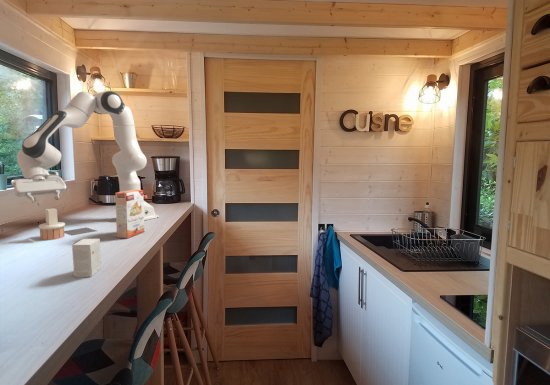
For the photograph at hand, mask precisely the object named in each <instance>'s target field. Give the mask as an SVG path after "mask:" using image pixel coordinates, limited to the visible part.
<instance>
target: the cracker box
mask: <svg viewBox="0 0 550 385" xmlns="http://www.w3.org/2000/svg"><path fill="white" fill-rule="evenodd" d="M144 195H145V194H144V189H141V190H129V191H123V192H120V191H118V192H115V215H116V216H115V218H116V219H115V220H116V221H115V222H116V238H118V239H119V238H120V239H129V238H131V237H134V236H136V235H139V234H143V233H144V232H145V220H144V201H145V200H144V199H145V198H144Z"/></svg>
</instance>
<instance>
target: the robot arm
mask: <svg viewBox="0 0 550 385" xmlns="http://www.w3.org/2000/svg"><path fill="white" fill-rule="evenodd" d="M93 113H94V114H95V113H96V114H98V115H109V116H110V118H111V121H112V128H113V129H112V130H113V135H114V139H115V140H114V141H115V142H116V144H117V145H118V147H119V149H120V151H118V152H116V153H114V154H113V155H112V158H111V162H112V165H113V166H114V168H115V170H116V174H117V178H118V184H119V192H123V191H129V190H142V189H141V188H142V187H141V180H140V178H139V177H138V175H137V174H138V173H137V171H141V170H143V169H144V168H145V167H146V166H147V163H148V161H147V157H146V155H145V154H144V153H143V151H142V149H141V147H140V145H139V142H138V138H137V133H136V132H137V131H136V126H135V121H134V116H133V112H132V110H131V108H130V107H129V106H127V105H125V103H124V101H123V99H122V96H121V95H120V94H118V93H117V92H115V91H109V90H107V91H102V92H99V93H96V94H91V93H90V92H87V91H79V92H78V93H77V94H76V95H74V97H73V98H71V99H70V101H69V102H68V104H66V106H65V107H64V108H63V109H61V110H57V111H54V112H53V113H52V114H51V115H50V116H49V117H48V118H46V120H45V121H43V123H42V124H40V126H39V127H38V128H37V129H36V130H35V131H33V133H32V134H29V135H28V136H27V137H25V138H24V139H23V141H22V144H21V149H20V150H19V151H18V153H17V156H16V158H17V159H16V160H17V164H18V166H19V169H20V171H21V172H22V176H23V177H22V178H21V177H19V178H13V179H12V180H11V181H10V184H11V185H12V187H13V191H14V194H15V196H16V197H26V198H27V199H28V200H30V201H31V203H37V201H38V200H37V198H36V197H35V196H42V195H43V196H44V195H52V194H53V195H54V200H55V201H59V200H60V199H61V198H60V196H59V195H60V194H64V193H65V192H66V190H67V185H66V183H65V181H64V179H62V177H61V176H59V172H57V171H55V170H54V171H53V170H49V169H51V168H54V167H55V166H57V165H58V164H59V163H60V162H61V161H62V158H63V155H62V153H61V151H60V150H58V149H57V148H56V147H55V146H54V145H52V144H51V143H50V142H49V141H48V140H49V138H51V136H52V135H53V134H54V133H55V132H56V131H57V130H58V129H59V128H61V127H68V128H71V129H79V128H82V127H83V126H85V125H86V124H87V122H88V121H89V119H90V118H91V116H92V114H93ZM143 195H144V199H148V195H147V194H143ZM157 217H158V218H159V217H160V215H159V214H157V213H155V208H154V206H153V205H151V204H149V203H148V202H147V201H145V200H144V221H147V220H153V219H156V218H157ZM158 218H157V219H158Z"/></svg>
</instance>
